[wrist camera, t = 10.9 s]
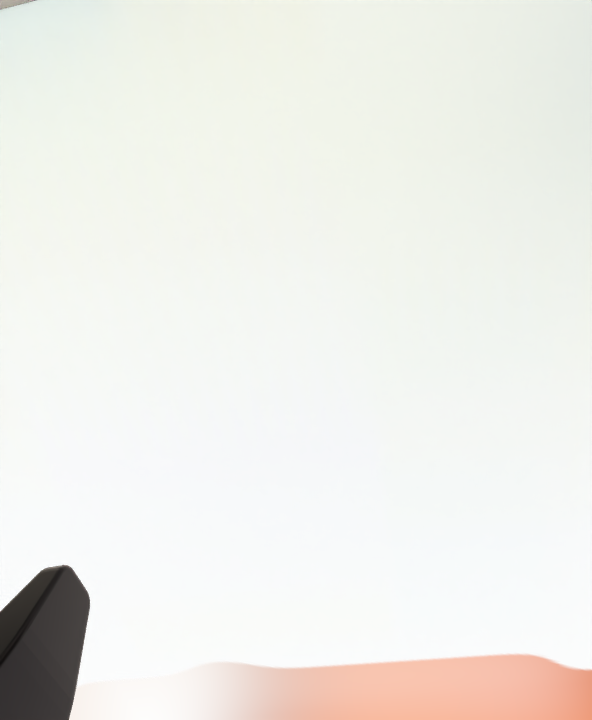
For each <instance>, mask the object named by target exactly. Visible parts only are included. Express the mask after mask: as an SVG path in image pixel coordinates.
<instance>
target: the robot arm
mask: <svg viewBox="0 0 592 720" xmlns="http://www.w3.org/2000/svg"><path fill="white" fill-rule="evenodd" d="M89 609H90V599H89V595H88V592H87V590H86V589H85V587H84V586H83V584H82V583H81V581H80V580H79V578H78V577H77V575H76V574H75V572H74V570H73V569H72V568H71V567H70V566H68V565H61V566H55V567H49V568H45V569H43V570H42V571H41V572H40V573H38V574H37V575H36V576H35V577H34V578H33V579H32V580H31V581H30V582H29V583H28V584H27V585H26V586H25V587H24V588H23V589H22V590H21V591H20V592H19V593H18V594H17V595H16V596H15V597H14V598H13V599H12V600H11V601H10V602H9V603H8V604H7V605H6V606H5V607H4V608H3V609H2V610H1V611H0V720H69V716H70V712H71V709H72V705H73V700H74V695H75V690H76V685H77V679H78V674H79V668H80V662H81V656H82V650H83V644H84V638H85V633H86V627H87V621H88V615H89Z"/></svg>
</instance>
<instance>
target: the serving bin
mask: <svg viewBox="0 0 592 720" xmlns="http://www.w3.org/2000/svg"><path fill="white" fill-rule="evenodd" d="M32 1H35V0H0V10H1V9H4V8H8V7H12V6H16V5H20V4H24V3H28V2H32Z"/></svg>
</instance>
